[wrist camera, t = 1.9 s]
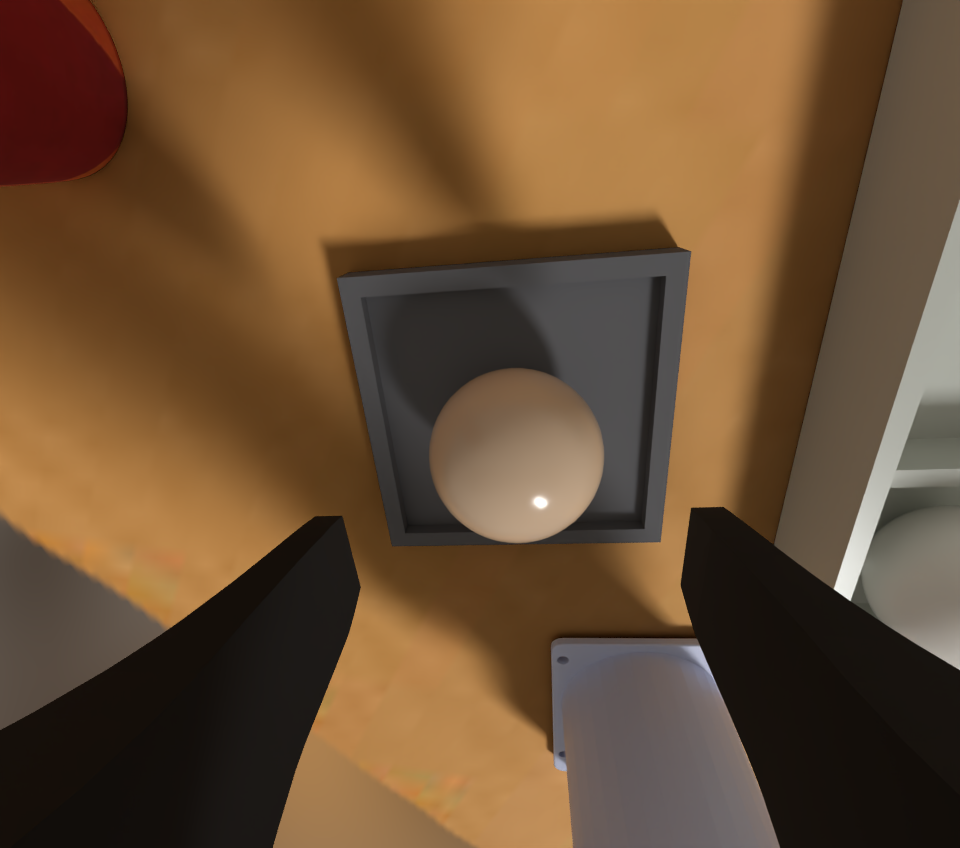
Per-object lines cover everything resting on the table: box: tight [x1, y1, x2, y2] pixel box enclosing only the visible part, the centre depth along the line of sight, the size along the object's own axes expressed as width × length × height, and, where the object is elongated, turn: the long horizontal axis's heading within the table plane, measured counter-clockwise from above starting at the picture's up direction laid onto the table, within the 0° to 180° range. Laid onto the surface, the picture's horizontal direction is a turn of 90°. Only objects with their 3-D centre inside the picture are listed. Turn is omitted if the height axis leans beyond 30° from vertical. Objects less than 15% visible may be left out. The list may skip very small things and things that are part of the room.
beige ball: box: [429, 368, 604, 543], centre depth 14 cm, size 5×5×5 cm
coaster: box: [337, 247, 691, 546], centre depth 16 cm, size 10×10×1 cm
